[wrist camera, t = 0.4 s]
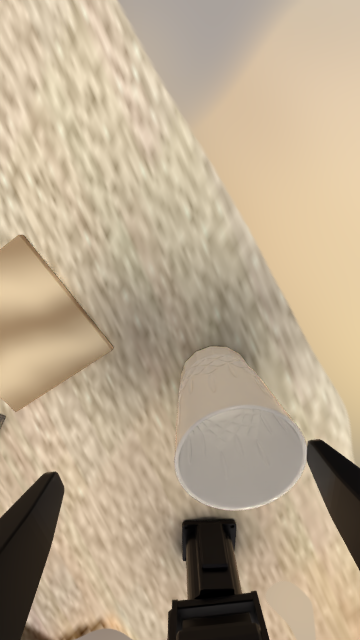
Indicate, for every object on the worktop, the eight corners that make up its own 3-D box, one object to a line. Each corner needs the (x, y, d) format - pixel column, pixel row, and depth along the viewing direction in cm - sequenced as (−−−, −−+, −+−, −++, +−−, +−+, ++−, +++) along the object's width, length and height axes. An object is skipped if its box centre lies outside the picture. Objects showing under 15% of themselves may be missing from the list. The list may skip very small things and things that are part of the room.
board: (113, 347, 23) (111, 350, 22) (19, 408, 24) (15, 412, 24) (23, 235, 20) (18, 234, 19) (-77, 313, 21) (-84, 315, 21)
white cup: (214, 423, 25) (238, 529, 16) (158, 379, 24) (146, 467, 14) (270, 373, 24) (334, 457, 14) (214, 323, 22) (244, 379, 13)
